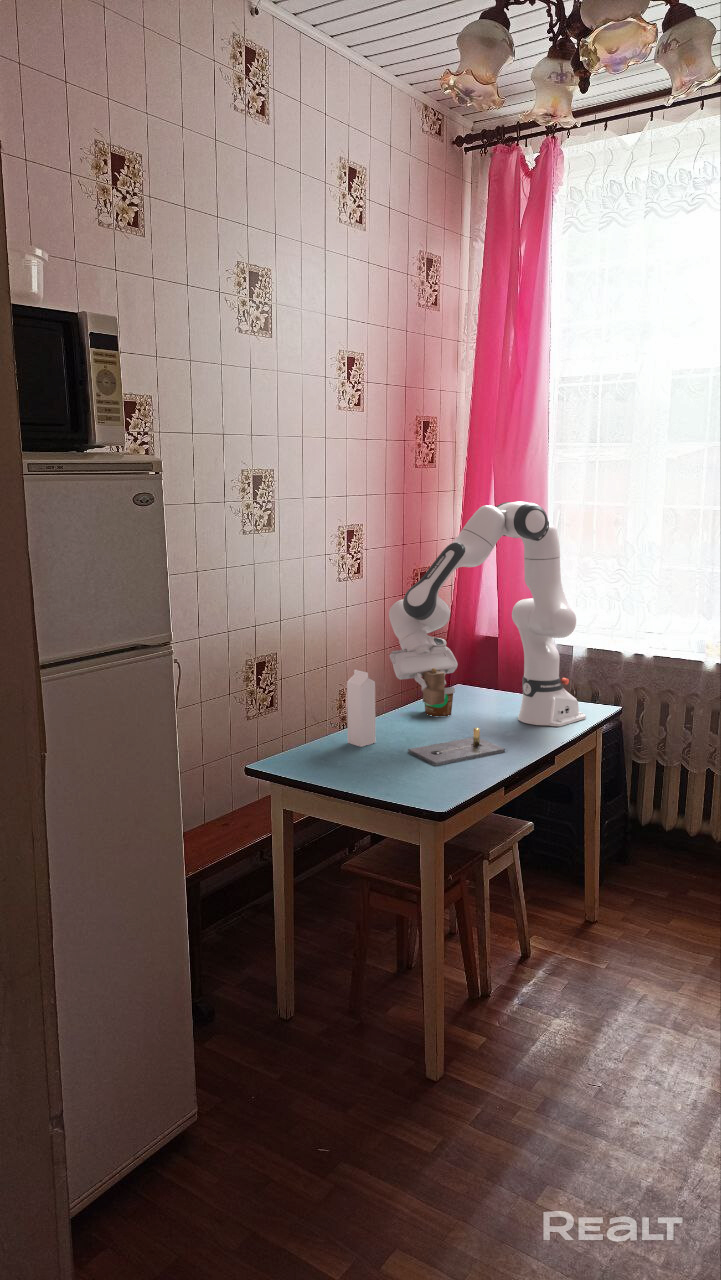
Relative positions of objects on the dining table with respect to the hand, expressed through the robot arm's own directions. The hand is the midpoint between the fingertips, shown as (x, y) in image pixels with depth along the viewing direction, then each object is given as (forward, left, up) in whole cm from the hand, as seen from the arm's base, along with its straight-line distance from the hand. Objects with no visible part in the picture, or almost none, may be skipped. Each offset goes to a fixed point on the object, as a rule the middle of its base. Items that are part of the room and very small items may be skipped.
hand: (434, 686), depth 262 cm
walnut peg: (0, -1, -5) cm, 5 cm away
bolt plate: (-1, +9, -18) cm, 20 cm away
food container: (-19, -28, -18) cm, 38 cm away
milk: (+18, -13, -18) cm, 28 cm away
